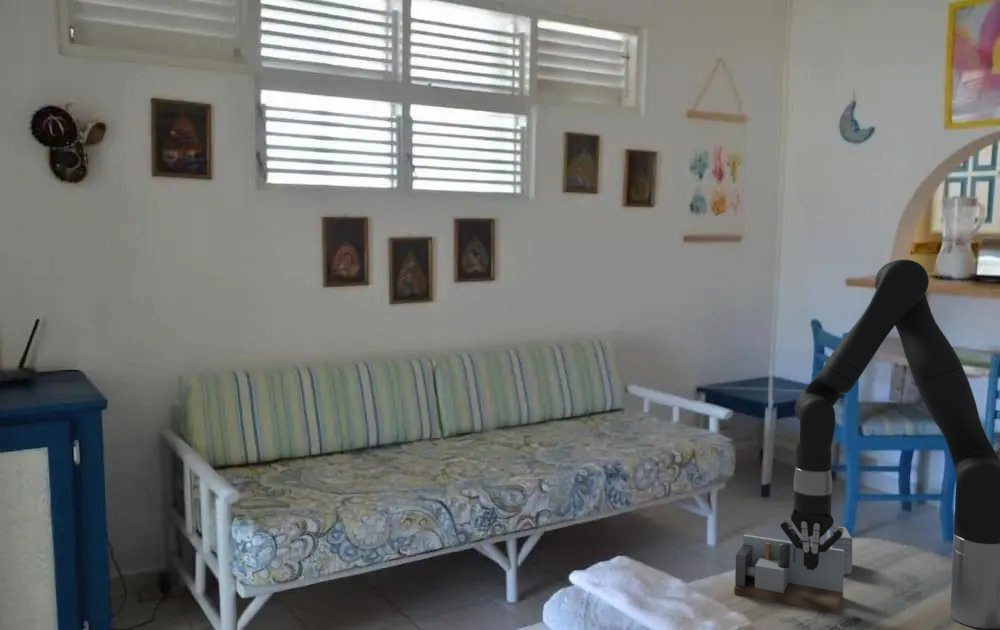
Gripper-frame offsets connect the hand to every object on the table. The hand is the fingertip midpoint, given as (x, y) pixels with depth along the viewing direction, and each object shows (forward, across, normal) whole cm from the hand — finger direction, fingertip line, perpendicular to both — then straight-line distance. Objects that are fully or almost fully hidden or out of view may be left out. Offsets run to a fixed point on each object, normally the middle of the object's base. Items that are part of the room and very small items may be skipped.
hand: (810, 568), depth 183 cm
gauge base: (+7, +4, 0) cm, 8 cm away
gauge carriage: (+5, +9, 0) cm, 10 cm away
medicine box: (+7, -3, -22) cm, 23 cm away
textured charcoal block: (+6, +14, 0) cm, 15 cm away
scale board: (+6, +5, -4) cm, 8 cm away
